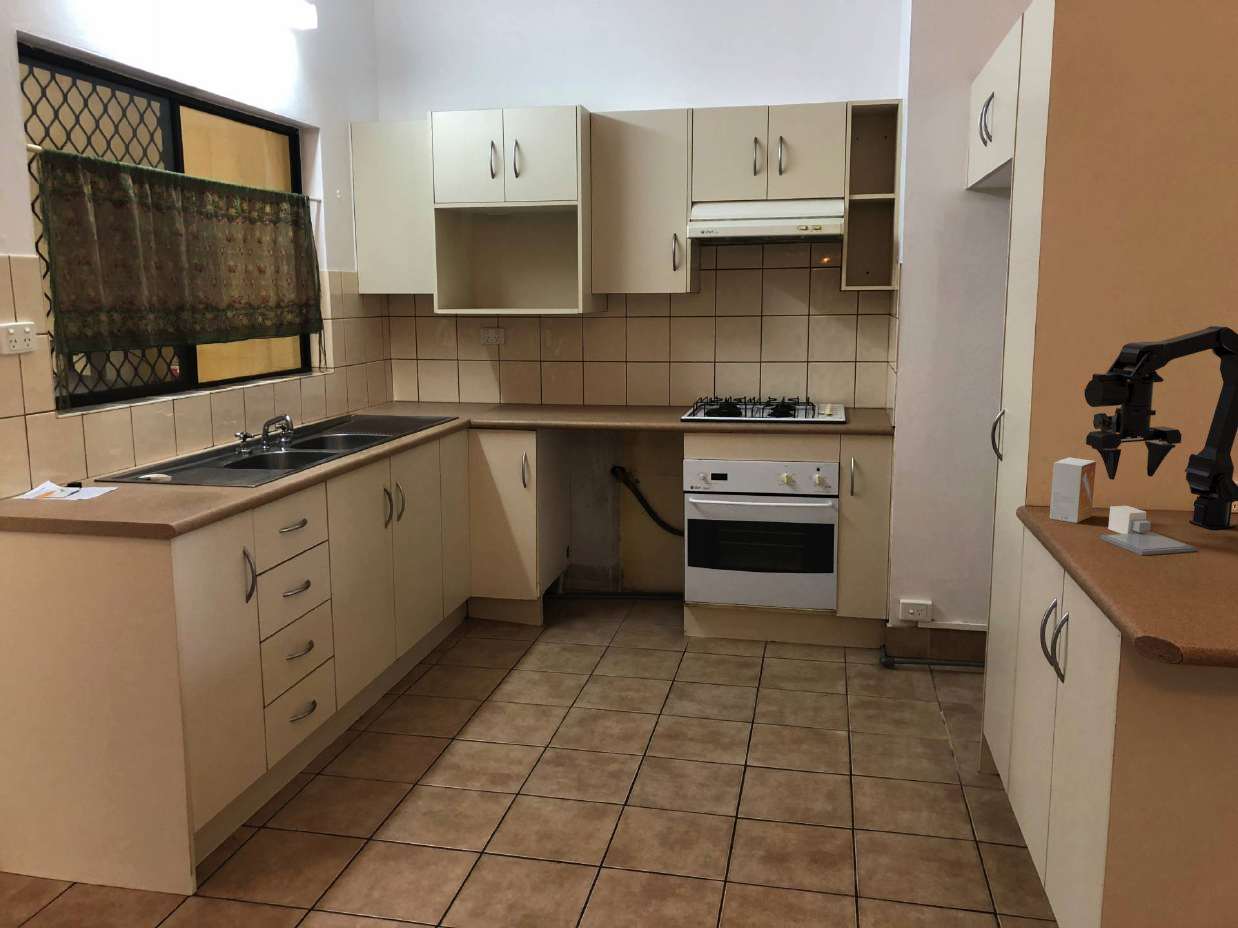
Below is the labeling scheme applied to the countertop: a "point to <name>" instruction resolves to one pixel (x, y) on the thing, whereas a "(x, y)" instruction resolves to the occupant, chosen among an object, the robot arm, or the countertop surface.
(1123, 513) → the connector
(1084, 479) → the small box
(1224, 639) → the countertop surface
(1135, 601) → the countertop surface
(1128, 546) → the plate
